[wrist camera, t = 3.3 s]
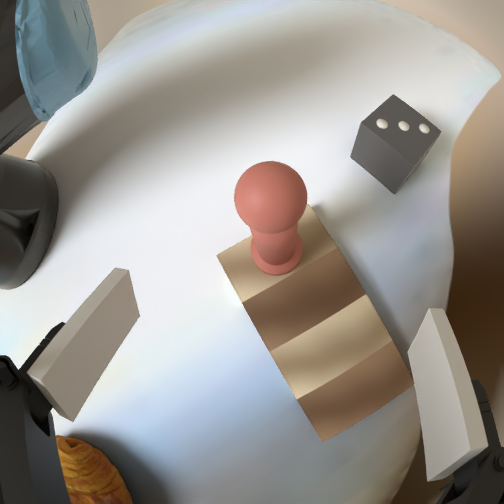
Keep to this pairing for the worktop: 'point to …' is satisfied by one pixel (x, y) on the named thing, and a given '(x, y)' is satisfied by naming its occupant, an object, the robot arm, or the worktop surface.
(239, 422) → the worktop surface
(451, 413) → the robot arm
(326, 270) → the track
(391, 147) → the die
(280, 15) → the worktop surface
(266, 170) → the pawn
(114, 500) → the croissant
